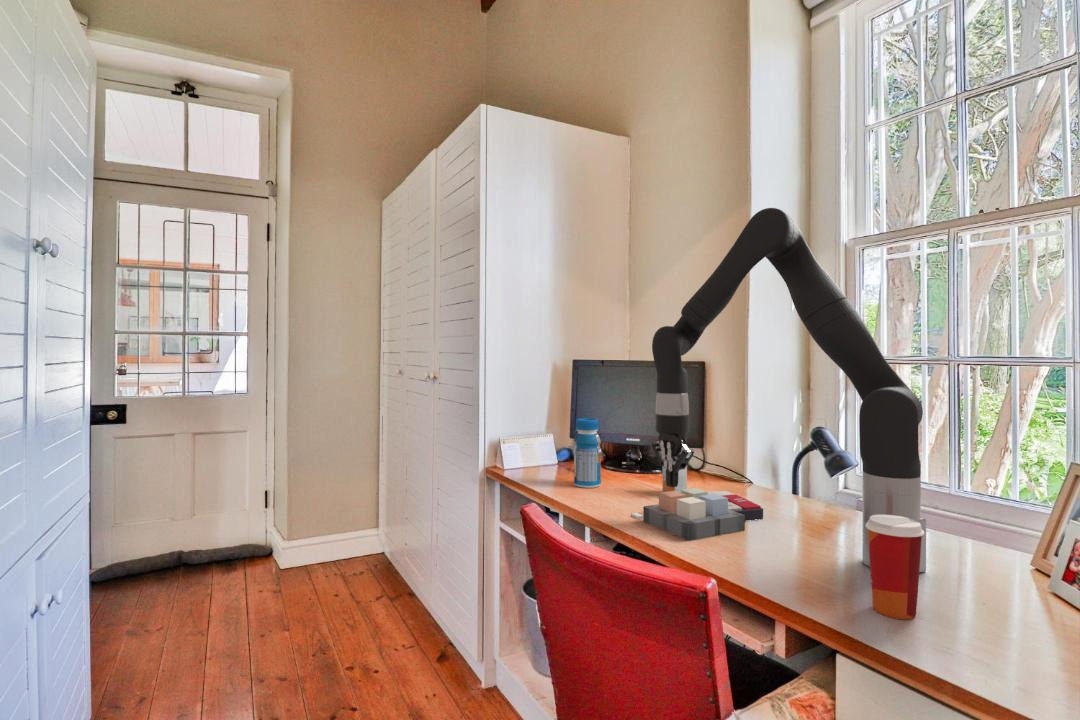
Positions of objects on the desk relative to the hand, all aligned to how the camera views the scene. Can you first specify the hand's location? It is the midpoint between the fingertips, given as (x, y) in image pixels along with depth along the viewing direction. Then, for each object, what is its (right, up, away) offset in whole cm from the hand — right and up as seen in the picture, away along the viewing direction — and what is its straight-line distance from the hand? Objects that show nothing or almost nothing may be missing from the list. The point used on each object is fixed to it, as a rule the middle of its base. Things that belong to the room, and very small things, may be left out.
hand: (671, 486), depth 133 cm
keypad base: (+4, -9, -2) cm, 10 cm away
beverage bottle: (-16, -9, +39) cm, 44 cm away
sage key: (+6, -6, +3) cm, 9 cm away
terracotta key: (0, -6, 0) cm, 6 cm away
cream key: (+3, -6, -6) cm, 9 cm away
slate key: (+9, -6, -3) cm, 11 cm away
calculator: (+15, -9, +9) cm, 20 cm away
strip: (-1, -9, +9) cm, 12 cm away
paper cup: (+23, -9, -46) cm, 52 cm away
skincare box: (+7, -9, +28) cm, 30 cm away
